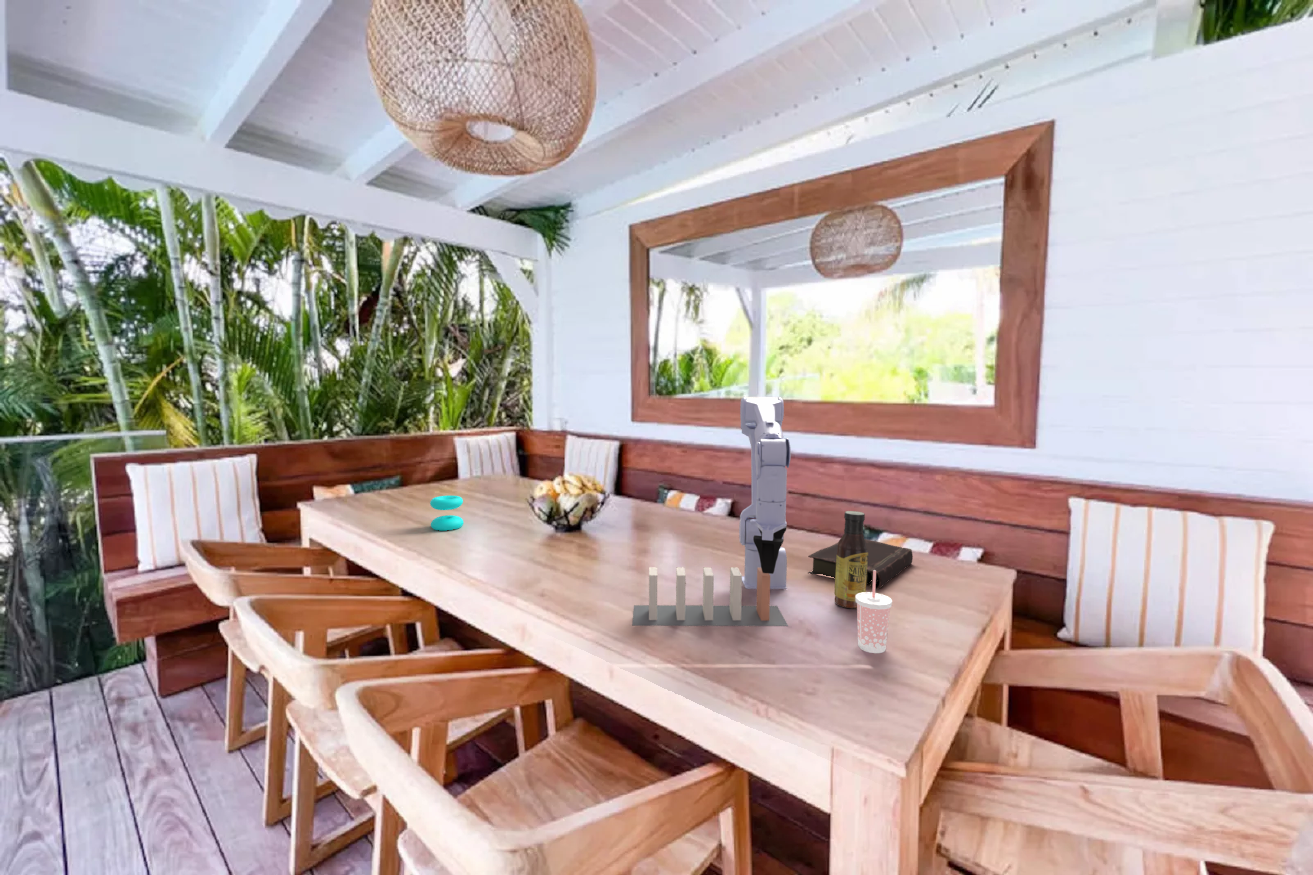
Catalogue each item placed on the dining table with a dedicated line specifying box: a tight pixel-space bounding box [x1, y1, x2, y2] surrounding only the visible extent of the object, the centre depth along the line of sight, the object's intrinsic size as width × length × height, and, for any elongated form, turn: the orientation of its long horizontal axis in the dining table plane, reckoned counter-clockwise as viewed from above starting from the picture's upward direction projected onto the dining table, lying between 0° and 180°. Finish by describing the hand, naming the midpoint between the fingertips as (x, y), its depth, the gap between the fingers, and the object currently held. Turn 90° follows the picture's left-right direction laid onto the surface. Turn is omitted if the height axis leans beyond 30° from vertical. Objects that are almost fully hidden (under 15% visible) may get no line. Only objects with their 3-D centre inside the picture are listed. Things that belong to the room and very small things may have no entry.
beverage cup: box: [855, 570, 893, 654], centre depth 100 cm, size 6×6×14 cm
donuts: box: [429, 495, 464, 532], centre depth 184 cm, size 10×10×10 cm
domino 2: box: [675, 566, 686, 620], centre depth 113 cm, size 2×5×9 cm, turn 0°
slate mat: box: [631, 604, 789, 627], centre depth 114 cm, size 30×10×1 cm, turn 90°
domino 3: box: [702, 567, 715, 620], centre depth 113 cm, size 2×5×9 cm, turn 0°
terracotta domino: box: [756, 568, 771, 620], centre depth 114 cm, size 2×5×9 cm, turn 1°
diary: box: [807, 538, 914, 589], centre depth 145 cm, size 19×25×5 cm
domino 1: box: [648, 566, 658, 620], centre depth 113 cm, size 2×5×9 cm, turn 0°
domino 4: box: [729, 567, 743, 620], centre depth 114 cm, size 2×5×9 cm, turn 0°
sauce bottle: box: [833, 510, 868, 609], centre depth 120 cm, size 6×6×20 cm
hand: (769, 566), depth 113 cm, fingers open, 7 cm apart
